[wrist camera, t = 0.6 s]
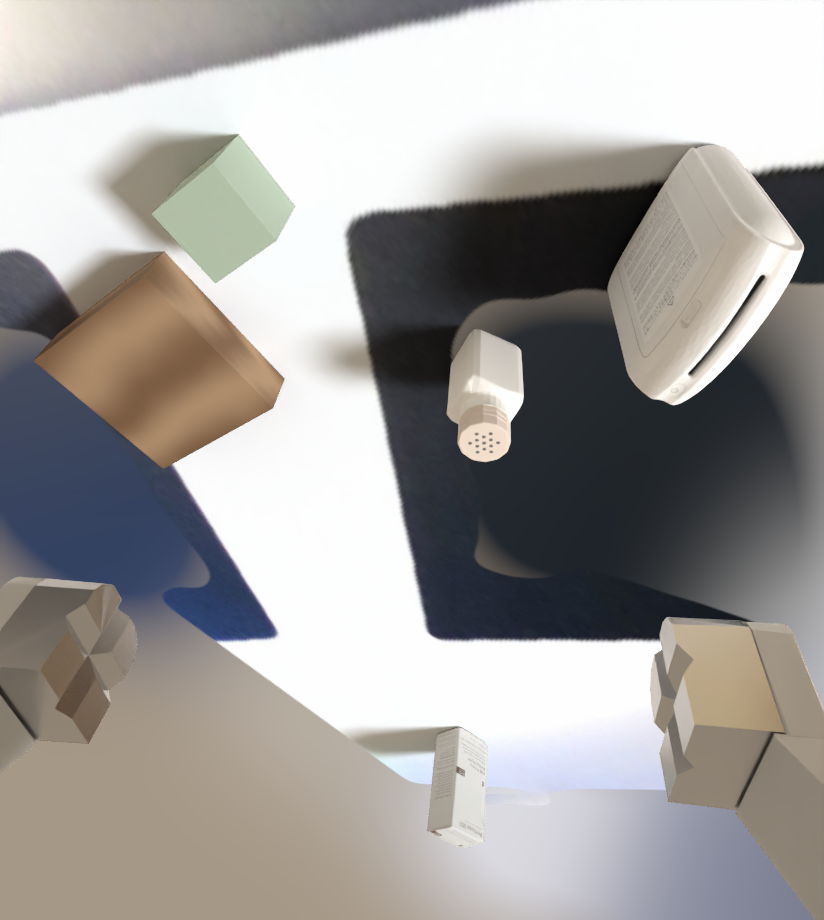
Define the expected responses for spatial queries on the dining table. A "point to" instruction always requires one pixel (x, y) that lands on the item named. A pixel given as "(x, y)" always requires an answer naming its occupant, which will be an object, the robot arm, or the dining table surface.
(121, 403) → the walnut block
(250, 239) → the green cube
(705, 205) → the white rounded block
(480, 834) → the skincare box
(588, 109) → the dining table surface
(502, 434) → the salt shaker
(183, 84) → the dining table surface
